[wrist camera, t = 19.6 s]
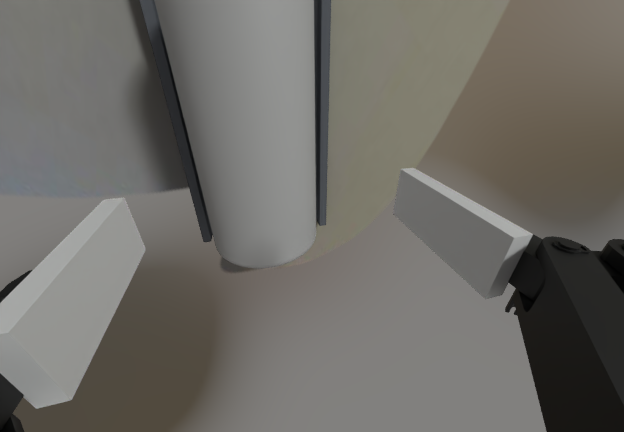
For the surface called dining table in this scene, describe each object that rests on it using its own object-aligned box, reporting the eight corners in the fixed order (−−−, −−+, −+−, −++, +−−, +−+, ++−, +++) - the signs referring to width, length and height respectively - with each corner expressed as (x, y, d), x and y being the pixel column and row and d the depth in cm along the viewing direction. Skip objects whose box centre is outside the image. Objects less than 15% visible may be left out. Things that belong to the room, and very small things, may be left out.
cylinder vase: (255, 290, 25) (193, -69, 13) (198, 240, 33) (125, -16, 21) (336, 237, 33) (345, -19, 21) (275, 206, 41) (255, 6, 28)
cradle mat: (321, 218, 42) (325, 224, 40) (205, 233, 38) (203, 242, 36) (325, -29, 27) (331, -36, 25) (134, -43, 23) (125, -53, 21)
